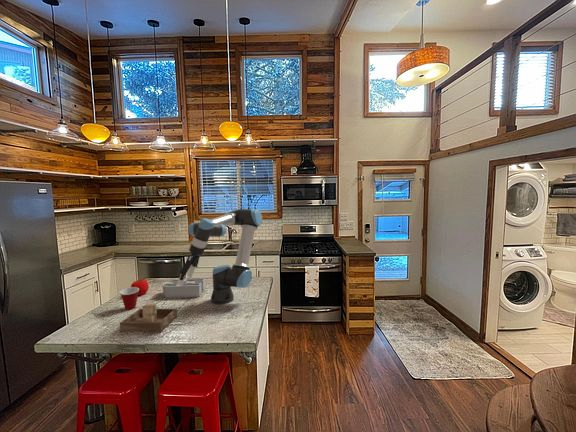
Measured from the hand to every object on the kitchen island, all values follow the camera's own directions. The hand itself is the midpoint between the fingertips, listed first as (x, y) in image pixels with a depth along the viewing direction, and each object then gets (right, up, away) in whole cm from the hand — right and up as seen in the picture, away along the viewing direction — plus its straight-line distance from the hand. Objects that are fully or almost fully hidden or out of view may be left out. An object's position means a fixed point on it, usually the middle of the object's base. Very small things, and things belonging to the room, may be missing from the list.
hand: (184, 280), depth 150 cm
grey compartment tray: (-19, -21, +48) cm, 56 cm away
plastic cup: (-43, -23, +23) cm, 54 cm away
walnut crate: (-19, -24, 0) cm, 31 cm away
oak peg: (-19, -23, 0) cm, 30 cm away
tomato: (-51, -22, +48) cm, 73 cm away
